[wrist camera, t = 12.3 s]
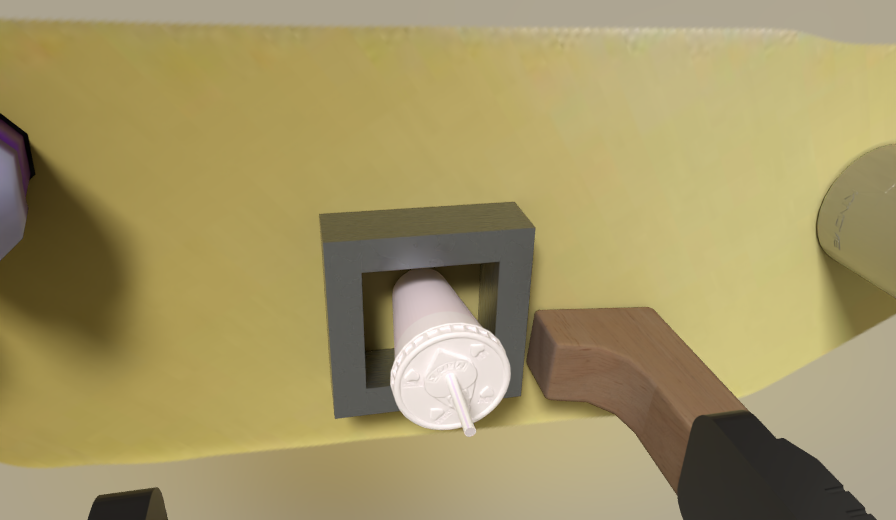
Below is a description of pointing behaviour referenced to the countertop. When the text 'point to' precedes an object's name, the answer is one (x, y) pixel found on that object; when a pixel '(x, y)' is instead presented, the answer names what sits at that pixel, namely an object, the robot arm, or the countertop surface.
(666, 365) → the wooden block
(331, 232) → the frame
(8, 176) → the potion bottle
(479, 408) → the smoothie
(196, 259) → the countertop surface
